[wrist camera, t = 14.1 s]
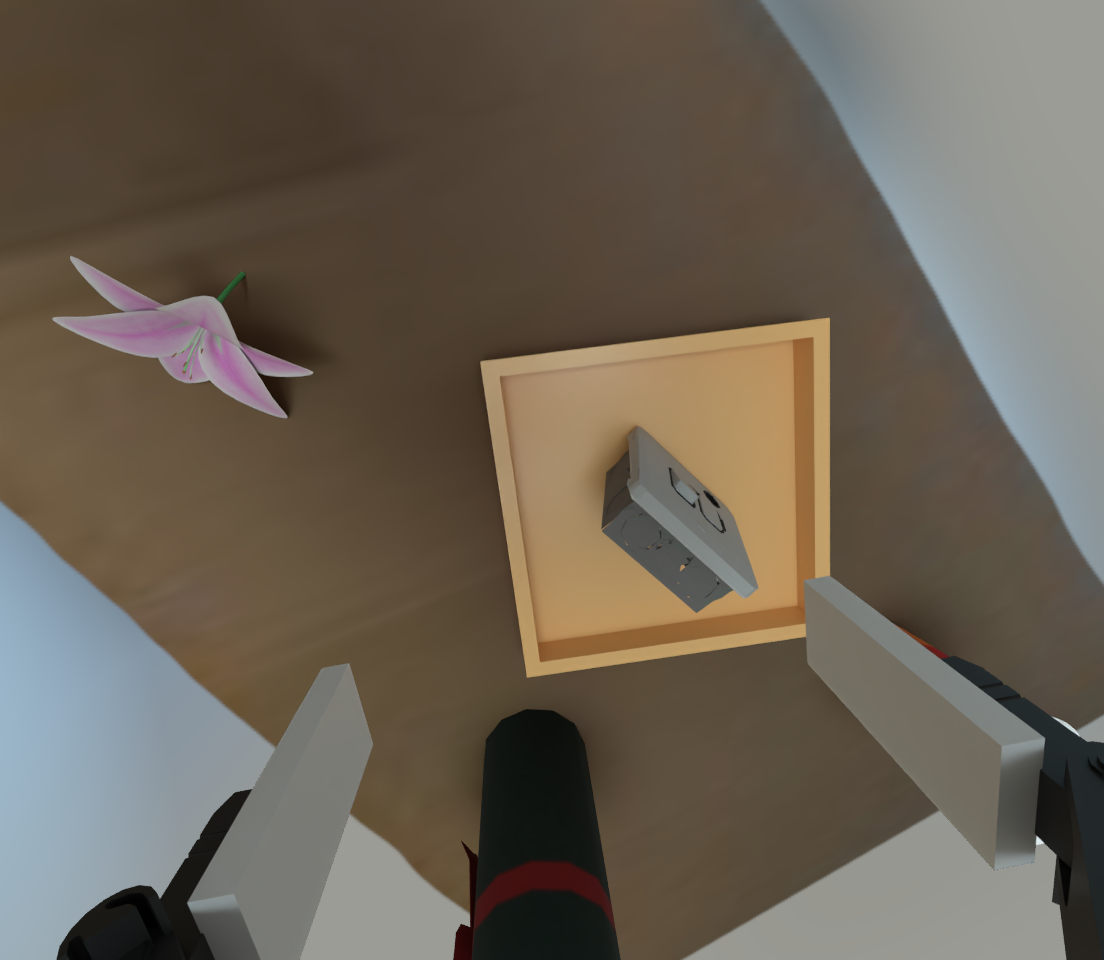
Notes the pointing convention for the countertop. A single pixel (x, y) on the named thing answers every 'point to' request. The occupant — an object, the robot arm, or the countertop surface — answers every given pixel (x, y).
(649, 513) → the electrical switch
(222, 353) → the lily
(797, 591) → the wooden tray
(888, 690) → the robot arm
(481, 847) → the wine bottle
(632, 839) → the countertop surface
